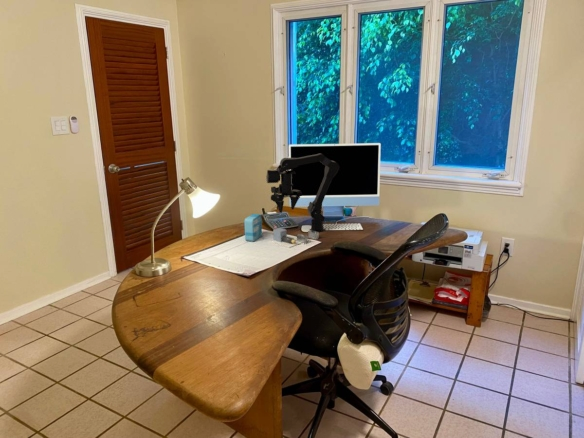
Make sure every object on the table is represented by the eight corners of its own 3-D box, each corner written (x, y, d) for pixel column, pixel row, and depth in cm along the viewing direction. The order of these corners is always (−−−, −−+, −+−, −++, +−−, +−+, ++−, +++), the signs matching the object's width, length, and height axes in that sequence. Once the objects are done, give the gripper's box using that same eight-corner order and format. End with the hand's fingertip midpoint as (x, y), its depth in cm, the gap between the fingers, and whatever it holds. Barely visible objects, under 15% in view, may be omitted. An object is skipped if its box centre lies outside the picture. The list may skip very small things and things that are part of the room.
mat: (281, 237, 226) (281, 236, 226) (301, 243, 217) (301, 242, 217) (269, 241, 220) (269, 241, 220) (289, 247, 211) (289, 247, 211)
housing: (311, 236, 228) (311, 229, 227) (318, 238, 224) (318, 231, 223) (296, 241, 219) (296, 234, 218) (304, 243, 216) (304, 236, 215)
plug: (279, 238, 224) (279, 228, 222) (297, 243, 216) (297, 232, 214) (273, 240, 221) (273, 229, 219) (291, 245, 213) (291, 234, 211)
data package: (253, 242, 219) (252, 219, 216) (245, 241, 220) (244, 218, 217) (262, 235, 230) (261, 213, 227) (254, 234, 231) (253, 213, 228)
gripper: (287, 178, 239) (287, 205, 243) (262, 183, 226) (263, 211, 230) (302, 180, 232) (302, 208, 236) (278, 185, 219) (278, 215, 223)
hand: (286, 211), depth 232 cm, fingers open, 9 cm apart
